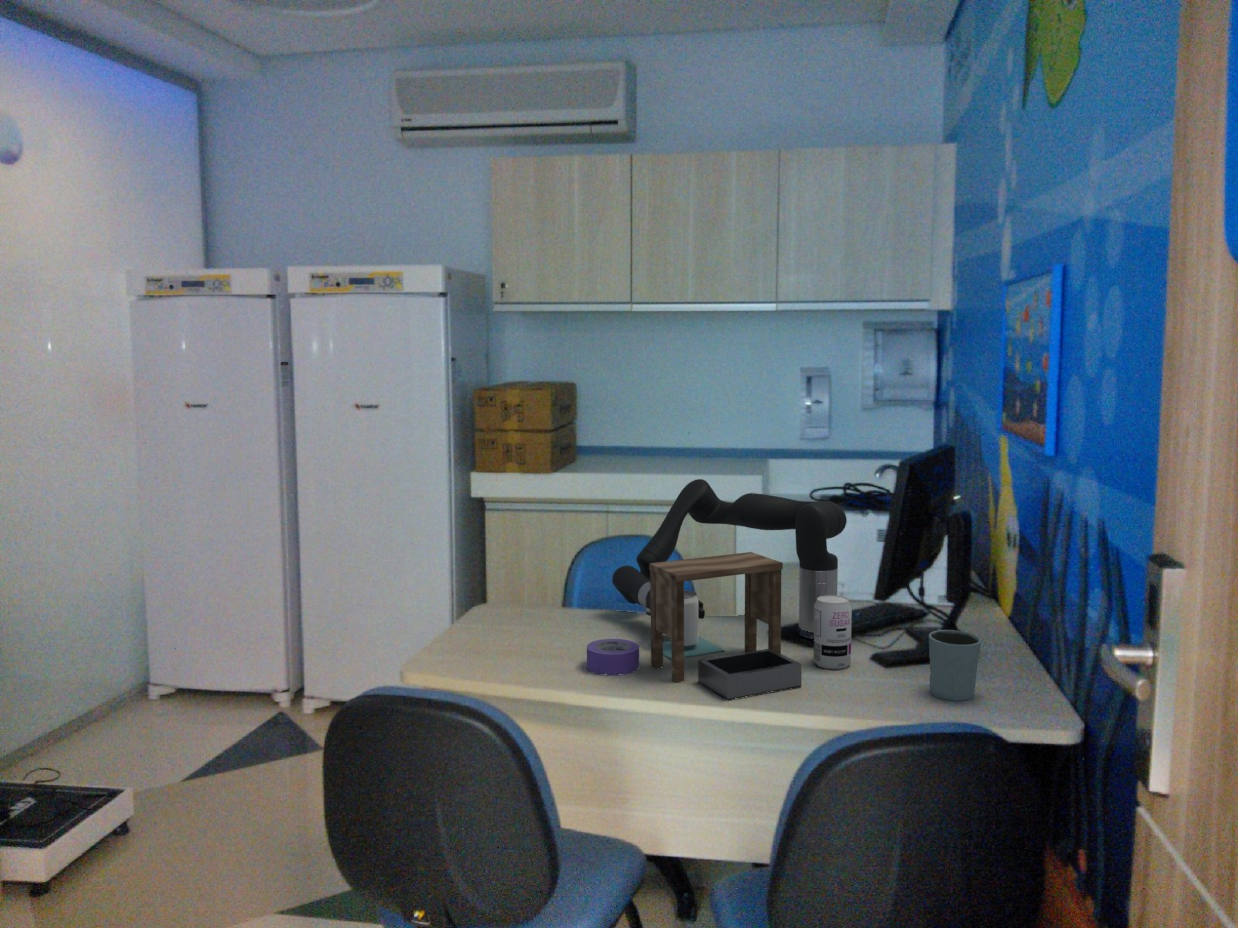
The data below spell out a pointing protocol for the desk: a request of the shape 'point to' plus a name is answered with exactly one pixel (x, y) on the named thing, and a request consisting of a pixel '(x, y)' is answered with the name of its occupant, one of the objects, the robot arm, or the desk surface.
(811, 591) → the robot arm
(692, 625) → the can
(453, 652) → the desk surface
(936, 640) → the grey green cup
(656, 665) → the small wooden table
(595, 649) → the tape roll
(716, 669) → the box
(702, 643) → the pad
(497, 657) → the desk surface
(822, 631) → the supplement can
